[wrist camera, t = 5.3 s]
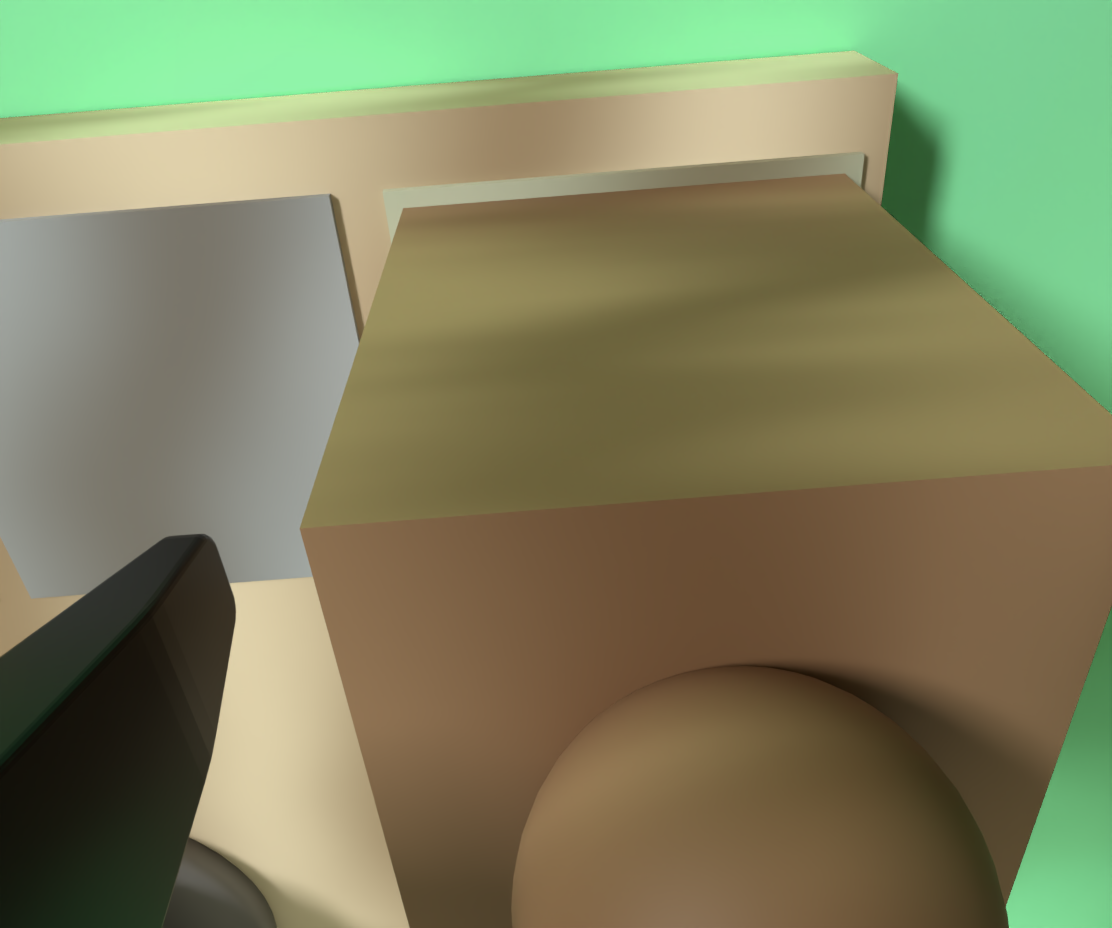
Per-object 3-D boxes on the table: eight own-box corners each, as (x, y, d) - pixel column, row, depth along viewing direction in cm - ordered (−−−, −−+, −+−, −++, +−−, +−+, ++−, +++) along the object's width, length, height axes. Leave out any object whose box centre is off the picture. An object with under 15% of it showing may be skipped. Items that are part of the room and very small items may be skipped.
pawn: (844, 173, 10) (1592, 849, 3) (807, 527, 13) (1166, 1319, 6) (402, 207, 10) (159, 960, 3) (458, 554, 13) (393, 1378, 6)
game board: (853, 51, 11) (1024, 139, 7) (765, 908, 21) (819, 1128, 17) (-1108, 205, 11) (-1907, 371, 7) (-269, 988, 21) (-435, 1225, 17)
